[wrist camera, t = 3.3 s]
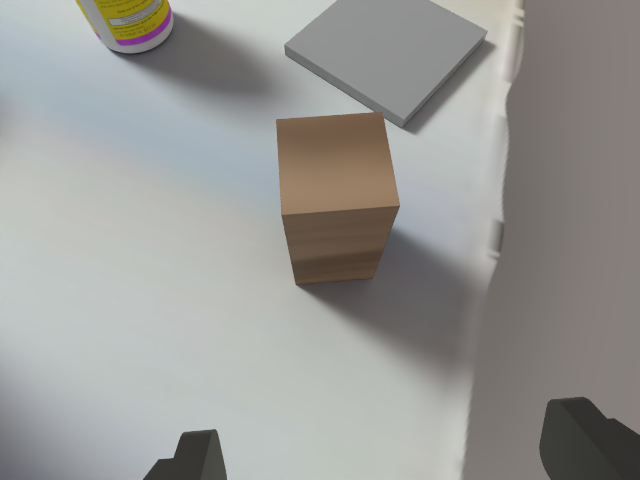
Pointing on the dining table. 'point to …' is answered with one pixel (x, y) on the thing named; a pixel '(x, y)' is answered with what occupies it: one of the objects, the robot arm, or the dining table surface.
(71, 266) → the dining table surface
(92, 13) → the supplement bottle
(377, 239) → the walnut block
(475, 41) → the slate tile
